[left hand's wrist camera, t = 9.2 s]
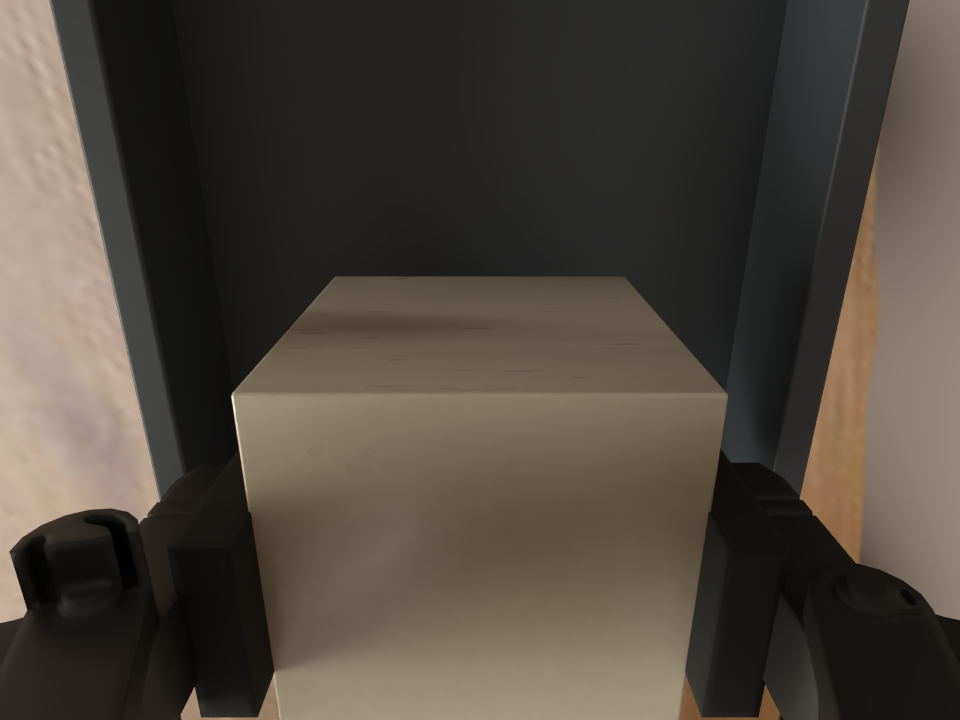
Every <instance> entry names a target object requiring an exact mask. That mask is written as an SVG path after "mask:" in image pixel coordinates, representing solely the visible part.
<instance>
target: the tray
mask: <svg viewBox="0 0 960 720" xmlns="http://www.w3.org/2000/svg"><path fill="white" fill-rule="evenodd" d="M908 4H909V0H50V5H51V9H52V14H53V18H54V23H55V27H56V32H57V36H58V41H59V45H60V50H61V55H62V59H63V64H64V68H65V73H66V77H67V82H68V86H69V91H70V95H71V100H72V104H73V109H74V113H75V118H76V122H77V127H78V132H79V136H80V141H81V145H82V150H83V154H84V159H85V163H86V168H87V172H88V177H89V181H90V186H91V190H92V195H93V199H94V204H95V208H96V213H97V218H98V222H99V227H100V231H101V236H102V240H103V245H104V249H105V254H106V258H107V263H108V267H109V272H110V276H111V281H112V285H113V290H114V295H115V299H116V304H117V308H118V313H119V317H120V322H121V326H122V331H123V335H124V340H125V344H126V349H127V353H128V358H129V362H130V367H131V371H132V376H133V381H134V385H135V390H136V394H137V399H138V403H139V408H140V412H141V417H142V421H143V426H144V430H145V435H146V439H147V444H148V448H149V453H150V458H151V462H152V467H153V471H154V476H155V480H156V485H157V489H158V494H159V498H160V499H161V497H162V496H163V495H164V494H165V493H166V491H167V490H168V489H169V488H170V487H171V485H172V484H173V483H174V482H175V481H176V480H177V479H179V478H180V477H182V476H184V475H185V474H187V473H188V472H190V471H192V470H193V469H195V468H196V467H198V466H199V465H227V464H228V463H229V461H230V460H231V458H232V457H233V456H234V454H235V453H236V452H237V450H238V449H239V444H238V437H237V431H236V424H235V417H234V411H233V404H232V397H231V396H232V393H233V392H234V391H235V390H236V389H237V387H238V386H239V385H240V384H241V383H242V382H243V381H244V379H245V378H246V377H247V376H248V375H249V374H250V373H251V372H252V370H253V369H254V368H255V367H256V366H257V365H258V364H259V362H260V361H261V360H262V359H263V358H264V357H265V356H266V355H267V353H268V352H269V351H270V350H271V349H272V348H273V347H274V345H275V344H276V343H277V342H278V341H279V340H280V339H281V338H282V336H283V335H284V334H285V333H286V332H287V331H288V330H289V329H290V327H291V326H292V325H293V324H294V323H295V322H296V321H297V319H298V318H299V317H300V316H301V315H302V314H303V313H304V312H305V310H306V309H307V308H308V307H309V306H310V305H311V304H312V302H313V301H314V300H315V299H316V298H317V297H318V296H319V295H320V293H321V292H322V291H323V290H324V289H325V288H326V287H327V285H328V284H329V283H330V282H331V281H332V280H333V279H334V278H335V277H625V278H626V279H627V280H628V281H629V283H630V284H631V285H632V286H633V287H634V288H635V289H636V291H637V292H638V293H639V294H640V295H641V296H642V297H643V298H644V300H645V301H646V302H647V303H648V304H649V305H650V306H651V308H652V309H653V310H654V311H655V312H656V313H657V314H658V316H659V317H660V318H661V319H662V320H663V321H664V322H665V323H666V325H667V326H668V327H669V328H670V329H671V330H672V331H673V333H674V334H675V335H676V336H677V337H678V338H679V339H680V340H681V342H682V343H683V344H684V345H685V346H686V347H687V348H688V350H689V351H690V352H691V353H692V354H693V355H694V356H695V358H696V359H697V360H698V361H699V362H700V363H701V364H702V365H703V367H704V368H705V369H706V370H707V371H708V372H709V373H710V375H711V376H712V377H713V378H714V379H715V380H716V381H717V382H718V384H719V385H720V386H721V387H722V388H723V389H724V390H725V392H726V393H727V395H728V400H727V406H726V413H725V420H724V426H723V433H722V440H721V446H720V448H721V450H722V451H723V452H724V454H725V455H726V456H727V458H728V459H729V461H730V462H731V463H761V464H762V465H764V466H765V467H767V468H769V469H770V470H772V471H773V472H775V473H777V474H778V475H780V476H781V477H783V478H784V479H785V480H786V481H787V482H788V483H789V485H790V486H791V487H792V488H793V489H794V490H795V492H796V493H797V494H798V495H799V496H800V494H801V489H802V485H803V480H804V475H805V471H806V466H807V462H808V457H809V453H810V448H811V444H812V439H813V435H814V430H815V426H816V421H817V417H818V412H819V408H820V403H821V398H822V394H823V389H824V385H825V380H826V376H827V371H828V367H829V362H830V358H831V353H832V349H833V344H834V340H835V335H836V331H837V326H838V321H839V317H840V312H841V308H842V303H843V299H844V294H845V290H846V285H847V281H848V276H849V272H850V267H851V263H852V258H853V254H854V249H855V244H856V240H857V235H858V231H859V226H860V222H861V217H862V213H863V208H864V204H865V199H866V195H867V190H868V186H869V181H870V177H871V172H872V167H873V163H874V158H875V154H876V149H877V145H878V140H879V136H880V131H881V127H882V122H883V118H884V113H885V109H886V104H887V100H888V95H889V90H890V86H891V81H892V77H893V72H894V68H895V63H896V59H897V54H898V50H899V45H900V41H901V36H902V31H903V27H904V23H905V18H906V13H907V9H908Z"/></svg>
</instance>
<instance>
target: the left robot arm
mask: <svg viewBox="0 0 960 720" xmlns="http://www.w3.org/2000/svg"><path fill="white" fill-rule="evenodd" d="M10 555H11V558H12V561H13V564H14V568H15V571H16V574H17V577H18V581H19V584H20V587H21V590H22V594H23V597H24V600H25V603H26V607H27V612H26V614H25V616H24V618H20V619H17V620H13V621H9V622H4V623H0V720H181V713H182V711H183V709H184V707H185V705H186V703H187V701H188V699H189V697H190V695H191V693H192V691H193V689H194V687H195V689H196V694H197V699H198V704H199V709H200V714H201V717H258V715H259V712H260V710H261V707H262V704H263V702H264V699H265V696H266V693H267V691H268V688H269V685H270V683H271V680H272V677H273V674H274V665H273V658H272V652H271V645H270V638H269V632H268V625H267V618H266V611H265V605H264V598H263V591H262V585H261V578H260V571H259V564H258V558H257V551H256V544H255V538H254V531H253V524H252V517H251V512H249V511H248V504H247V497H246V491H245V484H244V477H243V471H242V464H241V457H240V451H239V449H238V450H237V452H236V453H235V454H234V456H233V457H232V458H231V460H230V461H229V463H228V464H227V465H199V466H198V467H196V468H195V469H193V470H192V471H190V472H188V473H187V474H185V475H184V476H182V477H180V478H179V479H177V480H176V481H175V482H174V483H173V484H172V485H171V487H170V488H169V489H168V490H167V491H166V493H165V494H164V495H163V496H162V497H161V499H160V502H157V503H156V505H155V506H154V507H153V508H152V509H151V511H150V512H149V513H148V516H147V518H144V519H143V520H142V521H141V523H140V524H138V520H137V519H136V518H135V517H134V516H132V515H131V514H130V513H129V512H126V511H121V510H116V509H95V510H87V511H82V512H78V513H74V514H70V515H66V516H63V517H61V518H58V519H56V520H53V521H51V522H48V523H46V524H43V525H41V526H40V527H38V528H37V529H35V530H33V531H32V532H30V533H29V534H27V535H26V536H24V537H22V538H21V540H20V541H19V542H18V543H17V544H16V545H15V546H14V547H13V548H12V549H11V550H10ZM685 673H686V676H687V679H688V681H689V684H690V687H691V689H692V692H693V695H694V698H695V700H696V703H697V706H698V708H699V711H700V714H701V716H702V717H758V716H759V711H760V706H761V701H762V696H763V692H764V687H765V684H766V686H767V688H768V690H769V692H770V694H771V696H772V698H773V700H774V702H775V704H776V706H777V708H778V710H779V712H780V715H779V720H960V620H956V619H951V618H946V617H943V616H939V615H936V614H935V613H934V611H933V609H932V608H931V606H930V605H929V604H928V603H927V601H926V600H925V599H924V597H923V596H922V595H921V594H920V593H919V592H917V591H916V590H915V589H913V588H912V587H911V586H909V585H908V584H907V583H905V582H904V581H903V580H900V579H898V578H896V577H894V576H892V575H890V574H888V573H886V572H884V571H881V570H879V569H875V568H871V567H868V566H864V565H860V564H856V563H855V562H854V561H853V559H852V558H851V557H850V556H849V555H848V554H847V552H846V551H845V550H844V549H843V548H842V546H841V545H840V544H839V543H838V542H837V540H836V539H835V538H834V537H833V536H832V534H831V533H830V532H829V531H828V530H827V529H826V527H825V526H824V525H823V524H822V523H821V521H820V520H819V519H818V518H817V517H816V516H813V514H812V511H811V510H810V508H809V507H808V506H807V505H806V504H805V502H804V501H803V500H800V496H799V495H798V494H797V493H796V492H795V490H794V489H793V488H792V487H791V486H790V485H789V483H788V482H787V481H786V480H785V479H784V478H783V477H781V476H780V475H778V474H777V473H775V472H773V471H772V470H770V469H769V468H767V467H765V466H764V465H762V464H761V463H731V462H730V461H729V459H728V458H727V456H726V455H725V454H724V452H723V451H722V450H721V448H720V453H719V460H718V466H717V473H716V480H715V486H714V493H713V500H712V506H711V512H709V514H708V520H707V527H706V534H705V540H704V547H703V554H702V561H701V567H700V574H699V581H698V588H697V594H696V601H695V608H694V614H693V621H692V628H691V635H690V641H689V648H688V655H687V662H686V668H685Z"/></svg>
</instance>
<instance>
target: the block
mask: <svg viewBox="0 0 960 720" xmlns="http://www.w3.org/2000/svg"><path fill="white" fill-rule="evenodd" d="M231 397H232V404H233V411H234V417H235V424H236V431H237V437H238V444H239V451H240V457H241V464H242V471H243V477H244V484H245V491H246V497H247V504H248V511H249V512H251V517H252V524H253V531H254V538H255V544H256V551H257V558H258V564H259V571H260V578H261V585H262V591H263V598H264V605H265V611H266V618H267V625H268V632H269V638H270V645H271V652H272V658H273V665H274V674H273V677H274V684H275V690H276V697H277V704H278V710H279V717H280V720H680V713H681V706H682V700H683V693H684V686H685V680H686V673H685V668H686V662H687V655H688V648H689V641H690V635H691V628H692V621H693V614H694V608H695V601H696V594H697V588H698V581H699V574H700V567H701V561H702V554H703V547H704V540H705V534H706V527H707V520H708V514H709V512H711V506H712V500H713V493H714V486H715V480H716V473H717V466H718V460H719V453H720V446H721V440H722V433H723V426H724V420H725V413H726V406H727V400H728V395H727V393H726V392H725V390H724V389H723V388H722V387H721V386H720V385H719V384H718V382H717V381H716V380H715V379H714V378H713V377H712V376H711V375H710V373H709V372H708V371H707V370H706V369H705V368H704V367H703V365H702V364H701V363H700V362H699V361H698V360H697V359H696V358H695V356H694V355H693V354H692V353H691V352H690V351H689V350H688V348H687V347H686V346H685V345H684V344H683V343H682V342H681V340H680V339H679V338H678V337H677V336H676V335H675V334H674V333H673V331H672V330H671V329H670V328H669V327H668V326H667V325H666V323H665V322H664V321H663V320H662V319H661V318H660V317H659V316H658V314H657V313H656V312H655V311H654V310H653V309H652V308H651V306H650V305H649V304H648V303H647V302H646V301H645V300H644V298H643V297H642V296H641V295H640V294H639V293H638V292H637V291H636V289H635V288H634V287H633V286H632V285H631V284H630V283H629V281H628V280H627V279H626V278H625V277H335V278H334V279H333V280H332V281H331V282H330V283H329V284H328V285H327V287H326V288H325V289H324V290H323V291H322V292H321V293H320V295H319V296H318V297H317V298H316V299H315V300H314V301H313V302H312V304H311V305H310V306H309V307H308V308H307V309H306V310H305V312H304V313H303V314H302V315H301V316H300V317H299V318H298V319H297V321H296V322H295V323H294V324H293V325H292V326H291V327H290V329H289V330H288V331H287V332H286V333H285V334H284V335H283V336H282V338H281V339H280V340H279V341H278V342H277V343H276V344H275V345H274V347H273V348H272V349H271V350H270V351H269V352H268V353H267V355H266V356H265V357H264V358H263V359H262V360H261V361H260V362H259V364H258V365H257V366H256V367H255V368H254V369H253V370H252V372H251V373H250V374H249V375H248V376H247V377H246V378H245V379H244V381H243V382H242V383H241V384H240V385H239V386H238V387H237V389H236V390H235V391H234V392H233V393H232V396H231Z"/></svg>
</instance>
